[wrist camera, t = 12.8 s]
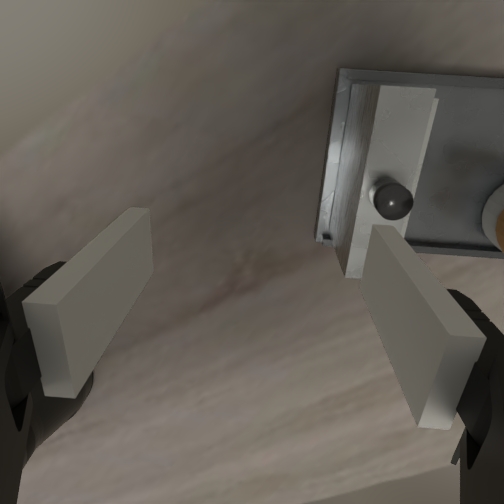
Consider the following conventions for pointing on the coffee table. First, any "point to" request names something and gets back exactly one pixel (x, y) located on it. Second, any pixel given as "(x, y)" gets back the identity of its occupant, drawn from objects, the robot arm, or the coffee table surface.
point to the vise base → (435, 160)
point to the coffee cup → (494, 218)
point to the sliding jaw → (378, 166)
